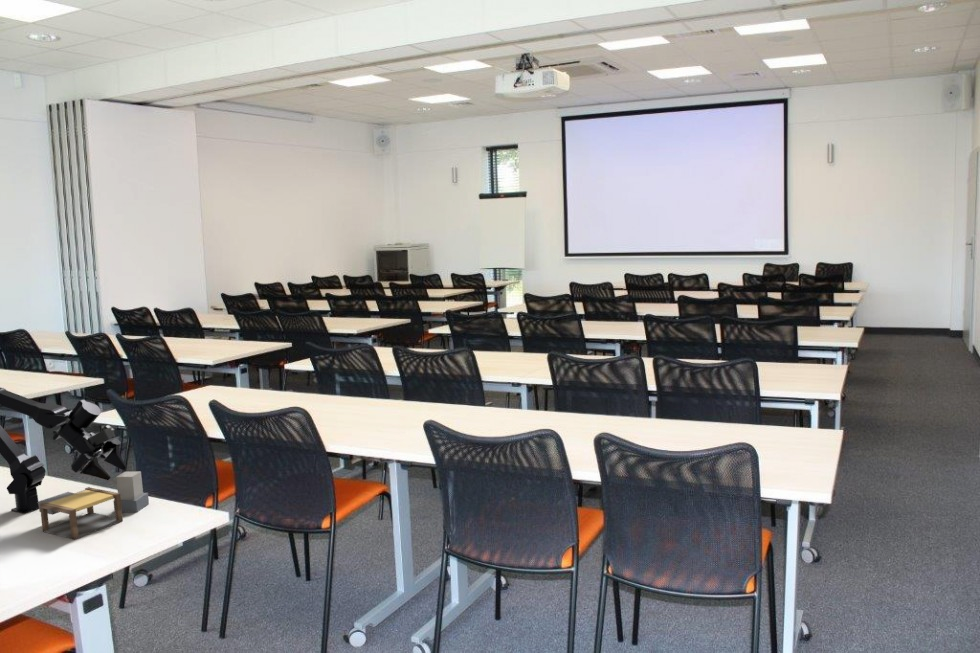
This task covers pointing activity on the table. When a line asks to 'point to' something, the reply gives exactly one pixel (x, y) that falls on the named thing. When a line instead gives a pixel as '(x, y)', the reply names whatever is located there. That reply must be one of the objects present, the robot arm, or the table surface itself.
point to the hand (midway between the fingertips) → (117, 474)
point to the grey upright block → (129, 485)
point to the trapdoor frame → (80, 518)
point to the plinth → (134, 504)
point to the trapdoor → (77, 500)
